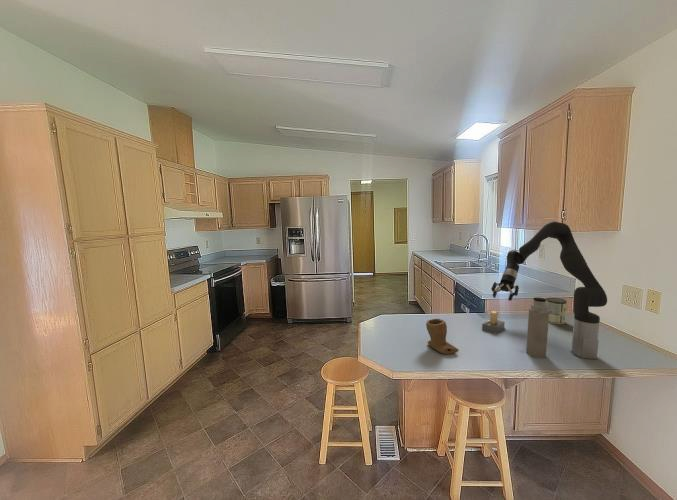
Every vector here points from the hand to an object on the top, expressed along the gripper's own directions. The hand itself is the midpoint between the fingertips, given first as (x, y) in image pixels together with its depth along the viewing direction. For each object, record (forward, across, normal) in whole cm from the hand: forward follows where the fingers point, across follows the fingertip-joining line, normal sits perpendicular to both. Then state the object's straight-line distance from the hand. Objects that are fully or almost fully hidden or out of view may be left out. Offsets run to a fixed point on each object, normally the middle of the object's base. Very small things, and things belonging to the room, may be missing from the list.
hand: (501, 298), depth 176 cm
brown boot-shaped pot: (+52, -10, -27) cm, 59 cm away
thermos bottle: (+32, +26, -7) cm, 41 cm away
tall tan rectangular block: (+19, 0, +3) cm, 19 cm away
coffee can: (-10, +21, +34) cm, 41 cm away
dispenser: (+20, 0, +4) cm, 20 cm away
